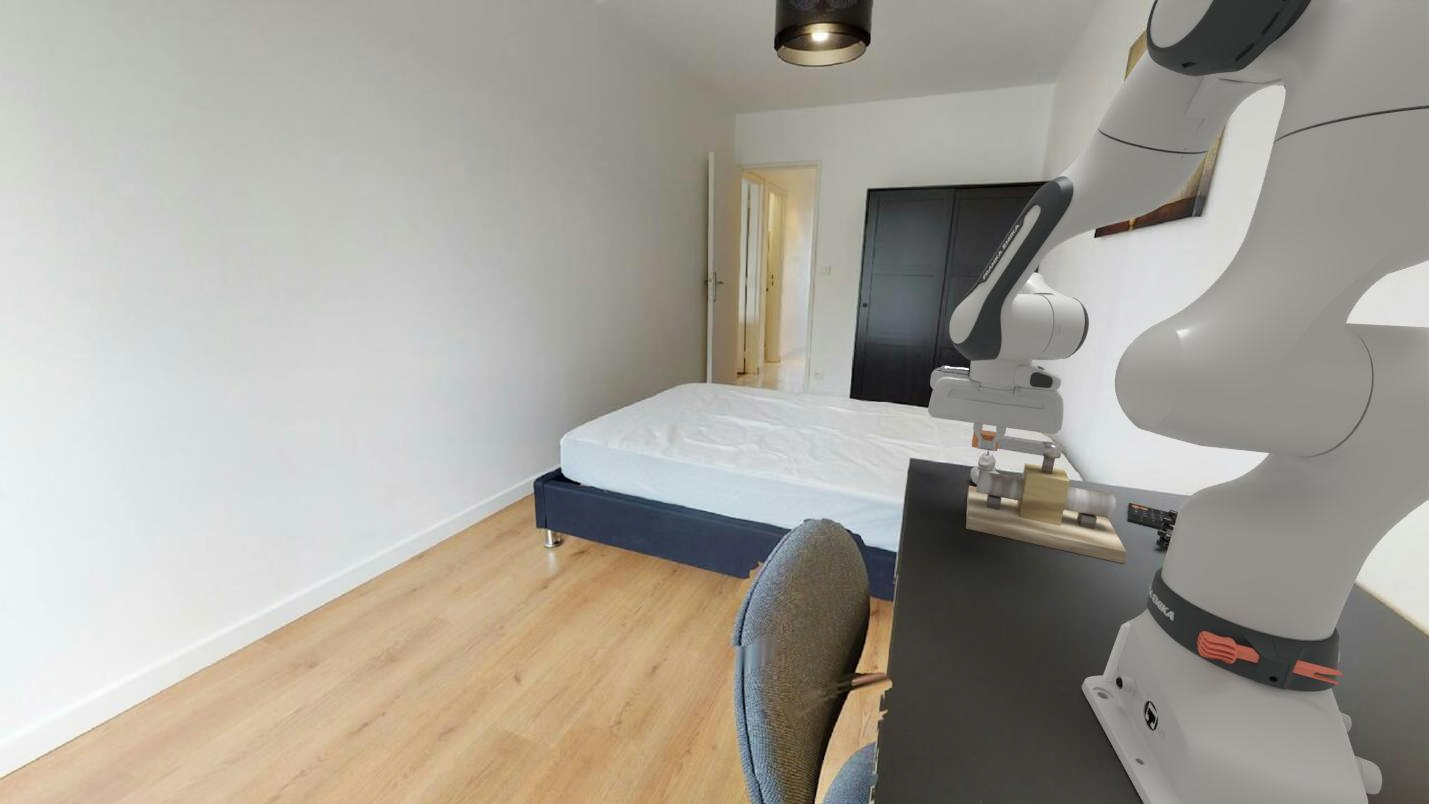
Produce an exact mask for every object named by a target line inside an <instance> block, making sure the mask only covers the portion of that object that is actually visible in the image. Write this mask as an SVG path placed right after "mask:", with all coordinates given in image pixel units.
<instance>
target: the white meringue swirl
mask: <svg viewBox="0 0 1429 804" xmlns="http://www.w3.org/2000/svg"><path fill="white" fill-rule="evenodd" d="M986 451H987V452H983V453H982V455H981V456H980V457H979V458H978V462H977V465H978V466H977V465H976V466H974V467H972V468H971V469H970V478H971V480H972V483H974V484H975V485H977V481H978V475H979V471H984V472H990V473H996V474H1000V472H998V471H997V470H996V469H997V467H996V458H995V456H994V454H990V450H986Z"/></svg>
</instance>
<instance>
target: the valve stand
mask: <svg viewBox="0 0 1429 804" xmlns="http://www.w3.org/2000/svg"><path fill="white" fill-rule="evenodd" d="M1055 460H1056V458H1048V457H1045V456H1043V461H1042V464H1041V465H1037V464H1032V463H1024V466H1023V471H1022V472H1023V473H1022V477H1017V476H1011V475H1008V474H1007V475H1005V474H1000V473H999V474H996V473H990V472H984V471H979V475H978V481H977V484H976V486H972V485H968V490H967V496H966V498H967V499H966V500H967V501H966V519H965V520H966V521H965V523H966V524H965V528H966V530H970V531H975V532H981V533H985V534H989V535H994V536H999V537H1002V538H1007V539H1011V540H1016V541H1019V542H1020V541H1021V542H1025V543H1030V544H1034V545H1037V546H1038V545H1039V546H1042V547H1043V546H1044V547H1047V548H1052V549H1056V550H1061V551H1065V552H1070V553H1074V554H1079V555H1084V556H1088V557H1093V558H1096V559H1103V560H1107V561H1110V562H1114V563H1119V564H1124V563H1125V561H1126V557H1127V550H1126V549H1125V547H1124V544H1123V542H1122V541H1121V539H1120V537H1119V536H1118V533H1116V530H1115V529H1114V527H1113V524H1111V522H1110V520H1112V519H1113V518H1114V516H1115V514H1116V509H1117V497H1116V495H1115V493H1114V494H1112V493H1108V492H1101V491H1096V490H1090V489H1085V488H1078V487H1073V486H1070V483H1071V481H1070V479H1069V478H1070V477H1069V476H1068V474H1067V472H1066V470H1065V469H1064V468H1063V469H1062V468H1057V467H1056V468H1055V467H1054V466H1055ZM1109 519H1110V520H1109Z"/></svg>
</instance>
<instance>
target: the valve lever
mask: <svg viewBox="0 0 1429 804" xmlns="http://www.w3.org/2000/svg"><path fill="white" fill-rule="evenodd" d="M980 432H981V435H982V437H983V438H990V439H992V438H993V437H994V436H995V435H996V434H997V433H998V432H996V431H992V430H991V431H990V430H986V429H984V430H983V429H982V430H980ZM977 444H978V438H977V436H976V434H975V432H974V431H973V433H972V439H971V447H972V448H975V449H977ZM998 450H1003V451H1010V452H1015V453H1021V454H1022V453H1023V454H1029V455H1035V456H1039V457H1044V456H1045V457H1048V458H1055V459H1061V458H1062V457H1061V456H1062V453H1063V452H1062V451H1063V445H1062V444H1060V443H1058V442H1054V441H1048V440H1047V441H1042V440H1035V439H1028V438H1022V437H1018V436H1017V437H1016V436H1009V435H1004V436H1003V437H1002V438H1001V439H1000V440H999V441H998V442H996V447H995V451H996V452H998ZM995 451H994V452H995Z"/></svg>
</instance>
